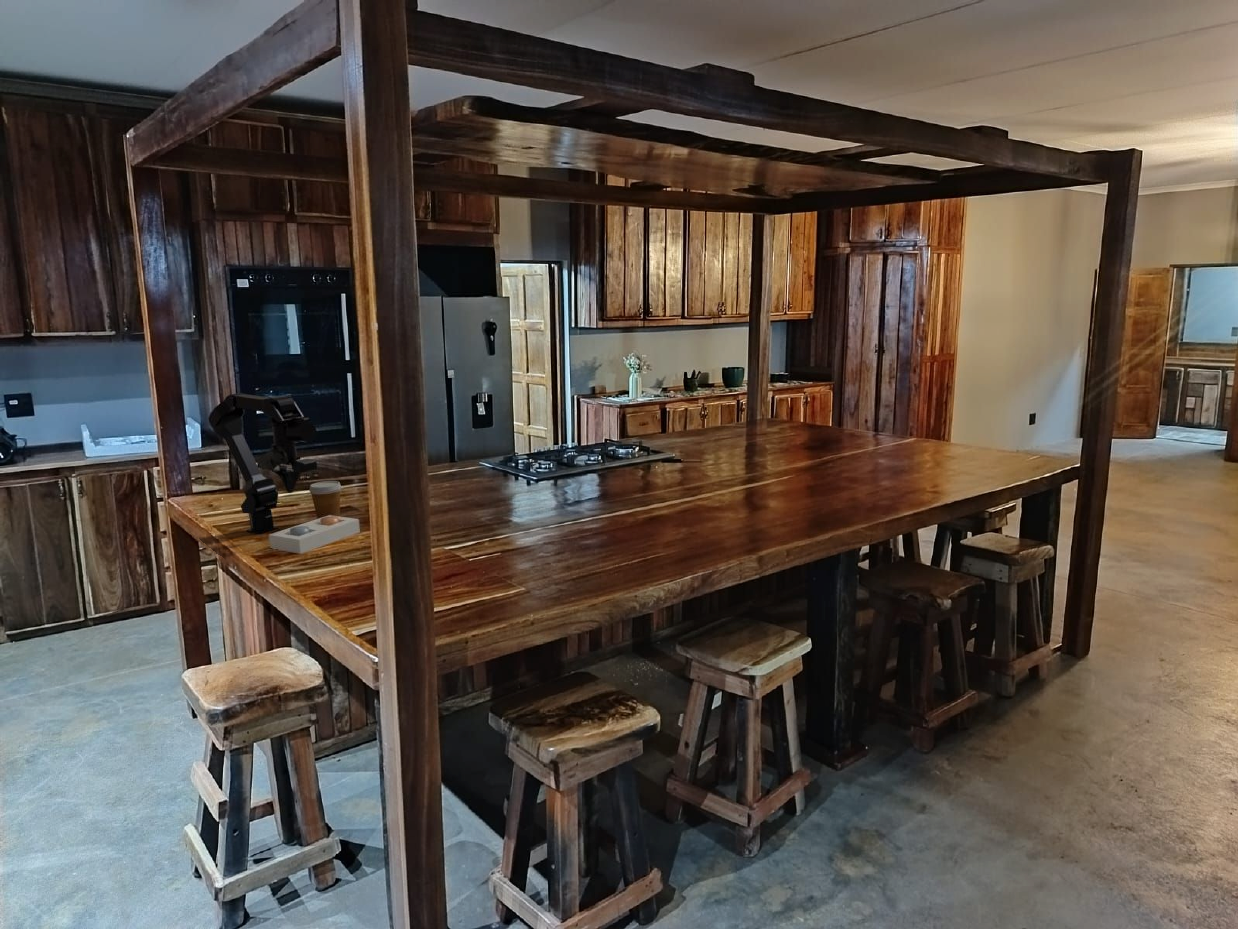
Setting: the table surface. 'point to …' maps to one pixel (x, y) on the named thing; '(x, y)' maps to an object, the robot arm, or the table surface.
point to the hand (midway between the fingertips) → (290, 492)
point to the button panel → (314, 535)
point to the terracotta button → (329, 520)
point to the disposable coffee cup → (326, 498)
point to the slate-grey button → (299, 530)
